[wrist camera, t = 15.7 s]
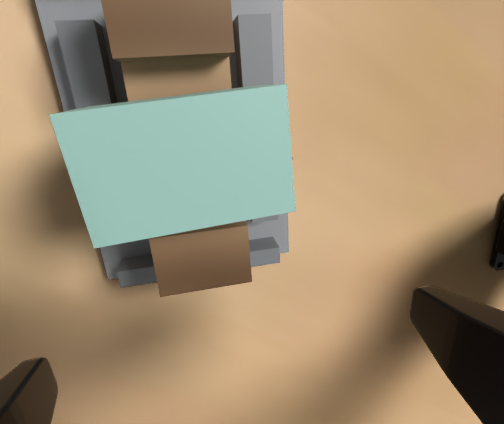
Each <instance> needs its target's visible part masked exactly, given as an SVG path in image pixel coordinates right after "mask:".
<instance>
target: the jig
mask: <svg viewBox="0 0 504 424" xmlns="http://www.w3.org/2000/svg"><path fill="white" fill-rule="evenodd" d="M35 3H36V7H37V11H38V15H39V18H40V22H41V26H42V30H43V34H44V37H45V41H46V45H47V49H48V53H49V56H50V60H51V64H52V68H53V72H54V75H55V79H56V83H57V87H58V91H59V94H60V98H61V102H62V106H63V110H64V111H69V110H74V109H79V108H84V107H89V106H97V105H105V104H113V103H121V102H128V98H127V92H126V87H125V82H124V77H123V72H122V66H121V62H119V61H117V60H114V59H113V58H112V53H111V48H110V43H109V38H108V33H107V28H106V23H105V18H104V13H103V8H102V3H101V0H35ZM231 9H232V22H233V35H234V49H235V52H234V53H233V54H231V55H230V56H229V62H230V74H231V86H232V88H240V87H247V86H255V85H279V84H285V77H284V35H283V0H231ZM245 221H246V223H247V225H248V235H249V249H250V262H251V267H254V266H261V265H267V264H273V263H280V253H285V252H289V242H288V213H283V214H278V215H272V216H267V217H262V218H256V219H251V220H245ZM100 250H101V254H102V258H103V261H104V265H105V269H106V273H107V277H108V280H111V279H117V278H119V282H120V286H121V288H123V287H129V286H135V285H142V284H148V283H154V282H157V278H156V273H155V268H154V263H153V258H152V253H151V248H150V243H149V238H148V239H143V240H137V241H132V242H127V243H121V244H116V245H110V246H105V247H100Z"/></svg>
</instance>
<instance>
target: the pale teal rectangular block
mask: <svg viewBox="0 0 504 424" xmlns="http://www.w3.org/2000/svg"><path fill="white" fill-rule="evenodd" d="M49 116H50V119H51V122H52V125H53V128H54V131H55V134H56V137H57V140H58V143H59V146H60V149H61V152H62V155H63V158H64V161H65V164H66V167H67V170H68V173H69V176H70V179H71V182H72V185H73V188H74V191H75V194H76V197H77V200H78V203H79V206H80V208H81V211H82V214H83V217H84V220H85V223H86V226H87V229H88V232H89V235H90V238H91V241H92V244H93V247H94V248H100V247H105V246H110V245H116V244H121V243H127V242H132V241H137V240H143V239H148V238H154V237H159V236H164V235H170V234H175V233H181V232H186V231H191V230H197V229H202V228H208V227H213V226H218V225H224V224H229V223H235V222H240V221H245V220H251V219H256V218H262V217H267V216H272V215H278V214H283V213H289V212H294V211H295V197H294V182H293V168H292V153H291V139H290V124H289V110H288V95H287V84H279V85H255V86H247V87H240V88H232V89H224V90H216V91H208V92H200V93H192V94H184V95H176V96H168V97H160V98H153V99H145V100H137V101H129V102H121V103H113V104H105V105H97V106H89V107H84V108H79V109H74V110H69V111H64V112H59V113H54V114H49Z"/></svg>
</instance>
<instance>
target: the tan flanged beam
mask: <svg viewBox="0 0 504 424" xmlns="http://www.w3.org/2000/svg"><path fill="white" fill-rule="evenodd" d="M101 3H102V8H103V13H104V18H105V23H106V28H107V33H108V38H109V43H110V48H111V53H112V58H113V59H114V60H117V61H119V62H121V66H122V72H123V77H124V82H125V87H126V92H127V98H128V102H129V101H137V100H145V99H153V98H160V97H168V96H176V95H184V94H192V93H200V92H208V91H216V90H224V89H232V86H231V74H230V62H229V56H230V55H231V54H233V53H234V52H235V49H234V35H233V22H232V9H231V0H101ZM149 243H150V248H151V253H152V258H153V263H154V268H155V273H156V278H157V283H158V288H159V293H160V297H163V296H169V295H175V294H181V293H187V292H193V291H199V290H205V289H211V288H217V287H223V286H229V285H235V284H241V283H247V282H252V275H251V262H250V249H249V235H248V225H247V223H246V221H240V222H235V223H229V224H224V225H218V226H213V227H208V228H202V229H197V230H191V231H186V232H181V233H175V234H170V235H164V236H159V237H154V238H149Z"/></svg>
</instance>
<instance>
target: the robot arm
mask: <svg viewBox="0 0 504 424" xmlns="http://www.w3.org/2000/svg"><path fill="white" fill-rule="evenodd" d="M490 266H491V267H492V268H494V269H495V270H503V269H504V206H503V211H502V215H501V219H500V223H499V228H498V232H497V236H496V240H495V244H494V249H493V253H492V257H491V261H490ZM410 318H411V321H412V323H413V324H414V326H415V328H416V329H417V331H418V332H419V334H420V335H421V337H422V339H423V340H424V342H425V343H426V345H427V347H428V348H429V350H430V351H431V353H432V354H433V356H434V358H435V359H436V361H437V362H438V364H439V365H440V367H441V368H442V370H443V371H444V373H445V374H446V376H447V377H448V379H449V380H450V381H451V383H452V384H453V385H454V387H455V388H456V389H457V391H458V392H459V393H460V394H461V396H462V397H463V398H464V400H465V401H466V402H467V404H468V405H469V406H470V407H471V409H472V410H473V411H474V413H475V414H476V415H477V417H478V418H479V419H480V421H481V422H482V423H483V424H504V311H502V310H499V309H496V308H493V307H490V306H487V305H485V304H482V303H479V302H476V301H473V300H470V299H468V298H465V297H462V296H459V295H456V294H454V293H451V292H448V291H445V290H442V289H439V288H437V287H434V286H430V285H428V286H422V287H417V288H415V289H414V290H413V293H412V300H411V308H410ZM57 393H58V387H57V382H56V380H55V377H54V374H53V372H52V369H51V367H50V364H49V362H48V360H47V359H46V358H44V357H40V358H35V359H29V360H25V361H23V362H22V363H20V364H19V365H18V366H17V367H15V368H14V369H13V370H12V371H11V372H9V373H8V374H7V375H6V376H5V377H3V378H2V379H1V380H0V424H51V421H52V417H53V412H54V408H55V403H56V398H57Z"/></svg>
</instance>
